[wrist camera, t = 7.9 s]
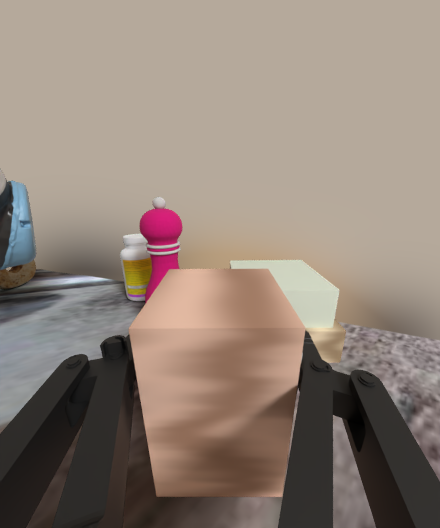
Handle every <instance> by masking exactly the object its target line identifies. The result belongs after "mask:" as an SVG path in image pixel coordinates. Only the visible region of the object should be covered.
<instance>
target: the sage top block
mask: <svg viewBox="0 0 440 528" xmlns="http://www.w3.org/2000/svg"><path fill="white" fill-rule="evenodd" d="M230 269H269V271H270V272H271V274H272V276H273V277H274V279H275V280H276V282H277V283H278V285H279V287H280V288H281V290H282V291H283V293H284V295H285V296H286V298H287V299H288V301H289V302H290V304H291V306H292V307H293V309H294V310H295V312H296V313H297V315H298V317H299V318H300V320H301V321H302V323H303V325H304V326H305V328H333V324H334V318H335V313H336V307H337V301H338V294H339V289H338V288H336V287H335V286H334V285H333V284H331V283H330V282H329V281H327V280H326V279H325V278H324V277H322V276H321V275H320V274H318V273H317V272H316V271H315V270H313V269H312V268H311V267H310V266H308V265H307V264H306V263H304V262H303V261H302V260H247V261H230Z"/></svg>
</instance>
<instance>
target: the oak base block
mask: <svg viewBox="0 0 440 528" xmlns="http://www.w3.org/2000/svg"><path fill="white" fill-rule="evenodd" d="M305 330H306V331H307V332H309V334H310V336H311V339H312V340H313V342H314V344H315V346H316V348H317V350H318V352H319V354H320V356H321V358H322V360H324V361H326V362H327V363H334V362H340V359H341V354H342V349H343V344H344V339H345V334H346V330H345V329H344V328H343V327H342V326H341V325H340V324H339V323H338V322H337V321H336V320H335V319H334V324H333V328H306V329H305Z"/></svg>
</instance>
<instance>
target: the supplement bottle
mask: <svg viewBox="0 0 440 528" xmlns="http://www.w3.org/2000/svg"><path fill="white" fill-rule="evenodd" d="M123 243H124V245H125V249H123V250H122V251H121V253H120V259H121V264H122V271H123V276H124V283H125V289H126V295H127V298H128V299H130V300H132V301H145V293H146V289H147V286H148V283H149V281H150V277H151V273H152V262H151V257H150V254H148V253H147V252H146V250H147V247H146V243H148V241H147V240H146V239H145V238H144V237H143V235H142V234H131V235H126V236H123Z"/></svg>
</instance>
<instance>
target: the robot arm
mask: <svg viewBox="0 0 440 528" xmlns="http://www.w3.org/2000/svg"><path fill="white" fill-rule="evenodd" d="M35 256H36V245H35V237H34V230H33V223H32V216H31V210H30V203H29V198H28V192H27V189H26V186H25V185H24V184H22V183H18V182H15V181H8V182H7V180H6V178H5V176H4V174H3V172H2V171H1V169H0V270H3V269H6V268H7V267H13V266H18V265H23V264H27V263H30V262H31V261H33V260H34V258H35ZM100 347H101V351H102V356H103V358H101V359H95V360H90V361H88V357H87V356H86V355H84V354H79V355H74V356H71V357H69V358H68V359H66V360H64V361H63V362H62V363H61V364H60V365H59V366H58V368H57V369H56V370H55V371H54V372H53V373H52V375H51V376H50V377H49V378H48V379H47V380H46V381H45V383H44V384H43V385H42V386H41V387H40V388H39V390H38V391H37V392H36V393H35V394H34V395H33V397H32V398H31V399H30V400H29V401H28V402H27V403H26V405H25V406H24V407H23V408H22V409H21V410H20V412H19V413H18V414H17V415H16V416H15V417H14V419H13V420H12V421H11V422H10V423H9V424H8V425H7V427H6V428H5V429H4V430H3V431H2V432H1V434H0V528H26V526H27V524H28V523H29V521H30V519H31V517H32V515H33V513H34V511H35V510H36V508H37V506H38V504H39V502H40V500H41V499H42V497H43V495H44V493H45V491H46V489H47V488H48V486H49V484H50V482H51V480H52V478H53V477H54V475H55V473H56V471H57V469H58V467H59V466H60V464H61V462H62V460H63V458H64V456H65V455H66V453H67V451H68V449H69V447H70V445H71V444H72V442H73V440H74V438H75V436H76V434H77V433H78V431H79V429H80V427H81V425H82V423H83V426H82V429H81V432H80V436H79V439H78V442H77V446H76V449H75V452H74V456H73V459H72V462H71V466H70V469H69V472H68V476H67V479H66V482H65V486H64V489H63V492H62V496H61V499H60V502H59V506H58V509H57V512H56V516H55V519H54V522H53V526H52V528H122V527H123V515H124V504H125V493H126V482H127V471H128V459H129V448H130V437H131V426H132V414H133V403H134V392H135V386H134V381H135V379H136V378H137V376H136V370H135V364H134V358H133V352H132V346H131V340H130V334H129V335H128V336H127V337H124V336H121V335H117V336H112V337H109V338H107V339H106V340H104V341H103V342H102V343H101V345H100ZM298 388H299V391H300V396H299V402H298V408H297V414H296V420H295V426H294V432H293V438H292V445H291V451H290V457H289V463H288V469H287V475H286V481H285V487H284V494H283V500H282V506H281V512H280V518H279V524H278V528H333V415H335V416H338V417H341V418H342V419H343V423H344V426H345V429H346V432H347V435H348V439H349V442H350V445H351V448H352V451H353V454H354V458H355V461H356V464H357V467H358V470H359V474H360V477H361V480H362V483H363V486H364V490H365V493H366V496H367V499H368V502H369V506H370V509H371V512H372V515H373V518H374V521H375V525H376V528H440V481H439V479H438V478H437V476H436V474H435V472H434V471H433V469H432V467H431V466H430V464H429V462H428V460H427V459H426V457H425V455H424V454H423V452H422V450H421V448H420V447H419V445H418V443H417V442H416V440H415V438H414V436H413V435H412V433H411V431H410V430H409V428H408V426H407V424H406V423H405V421H404V419H403V418H402V416H401V414H400V413H399V411H398V409H397V407H396V406H395V404H394V402H393V401H392V399H391V397H390V395H389V394H388V392H387V390H386V389H385V387H384V385H383V383H382V382H381V381H380V380H379V378H377V377H376V376H375V375H373V374H371V373H369V372H367V371H363V370H354V371H352V373H351V375H347V374H343V373H340V372H337V371H335V370H333V369H332V367H331V366H330V365H329V363H327V362H326V361H324V360H322V358H321V356H320V354H319V352H318V350H317V348H316V346H315V344H314V342H313V340H312V339H311V336H310V334H309V332H307V331H306V330H305V336H304V343H303V351H302V358H301V365H300V372H299V379H298V386H297V390H298Z"/></svg>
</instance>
